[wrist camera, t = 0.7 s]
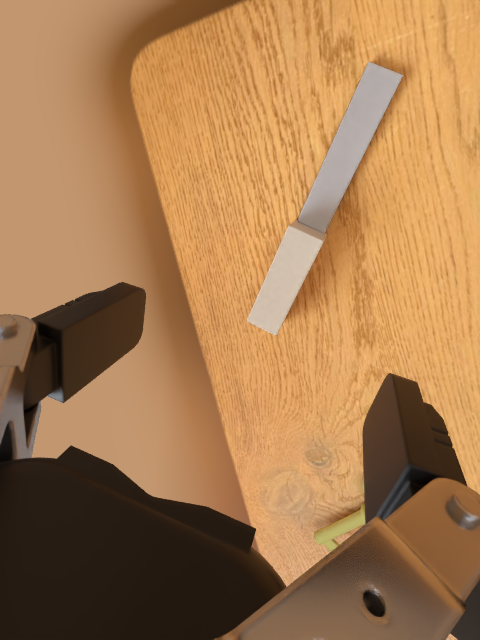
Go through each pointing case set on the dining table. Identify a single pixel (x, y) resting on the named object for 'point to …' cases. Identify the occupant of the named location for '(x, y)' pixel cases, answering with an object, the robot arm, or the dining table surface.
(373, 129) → the knife
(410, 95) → the dining table surface
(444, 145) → the dining table surface
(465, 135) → the dining table surface
